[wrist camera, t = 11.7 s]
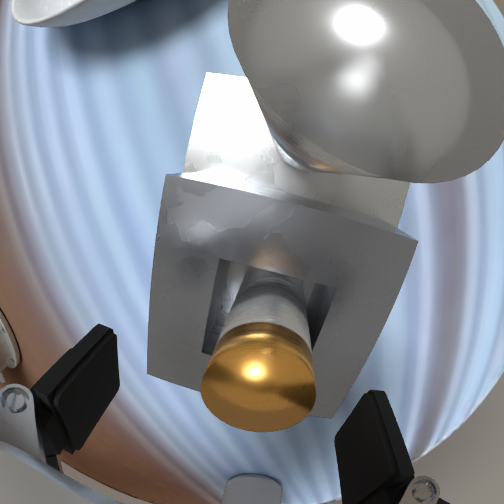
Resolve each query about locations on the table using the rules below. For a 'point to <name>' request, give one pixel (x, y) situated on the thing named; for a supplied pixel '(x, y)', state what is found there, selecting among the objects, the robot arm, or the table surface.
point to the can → (252, 490)
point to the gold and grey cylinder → (263, 357)
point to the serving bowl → (62, 11)
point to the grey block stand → (319, 170)
